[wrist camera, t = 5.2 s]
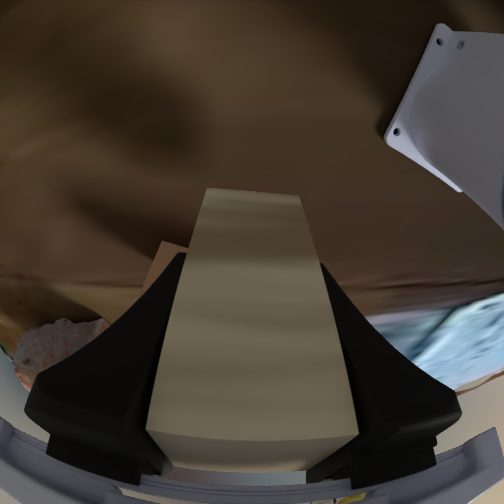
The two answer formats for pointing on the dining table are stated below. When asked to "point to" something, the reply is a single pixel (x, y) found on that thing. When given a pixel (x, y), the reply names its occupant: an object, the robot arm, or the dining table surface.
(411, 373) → the robot arm
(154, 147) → the dining table surface
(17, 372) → the food item
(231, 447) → the beech stick
